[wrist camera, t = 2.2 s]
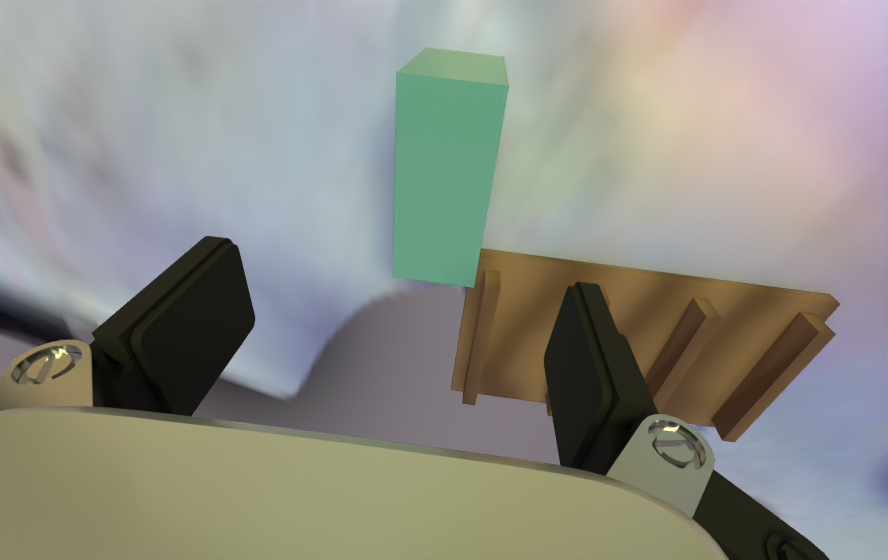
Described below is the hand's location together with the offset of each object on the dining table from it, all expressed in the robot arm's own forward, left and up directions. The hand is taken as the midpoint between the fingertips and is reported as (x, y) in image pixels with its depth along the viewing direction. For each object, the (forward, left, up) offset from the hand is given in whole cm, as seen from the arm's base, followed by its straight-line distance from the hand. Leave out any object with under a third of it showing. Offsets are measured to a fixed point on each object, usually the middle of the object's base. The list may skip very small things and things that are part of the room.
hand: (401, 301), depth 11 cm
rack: (-14, +14, -15) cm, 25 cm away
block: (0, 0, -15) cm, 15 cm away
